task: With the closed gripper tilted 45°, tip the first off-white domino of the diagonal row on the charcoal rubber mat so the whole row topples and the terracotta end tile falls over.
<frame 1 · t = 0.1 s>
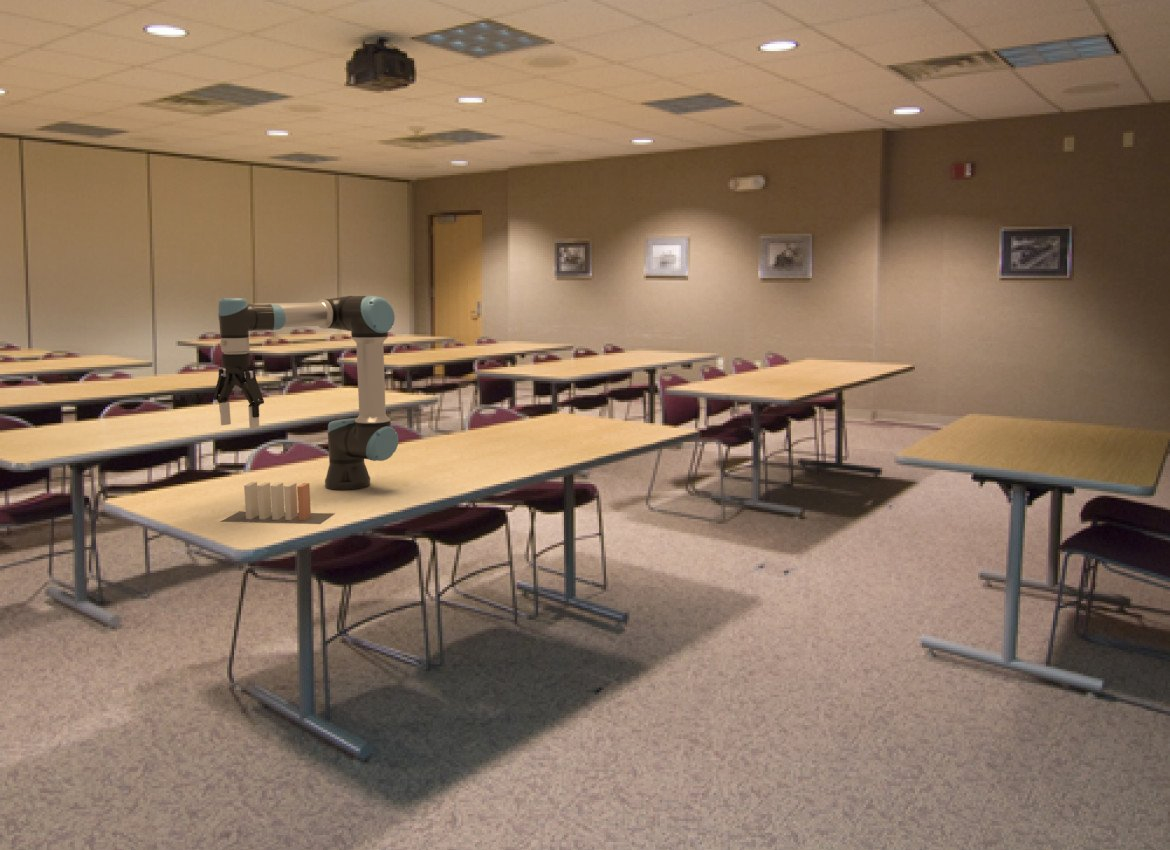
hand: (240, 426, 259), 28 cm above the table, tool pointing down, fingers open, 13 cm apart
domino 5: (305, 518, 265), resting on mat
domino 4: (291, 517, 266), resting on mat
domino 1: (252, 516, 267), resting on mat
domino 3: (278, 517, 266), resting on mat
domino 2: (265, 517, 266), resting on mat
mat: (278, 518, 266), on the table
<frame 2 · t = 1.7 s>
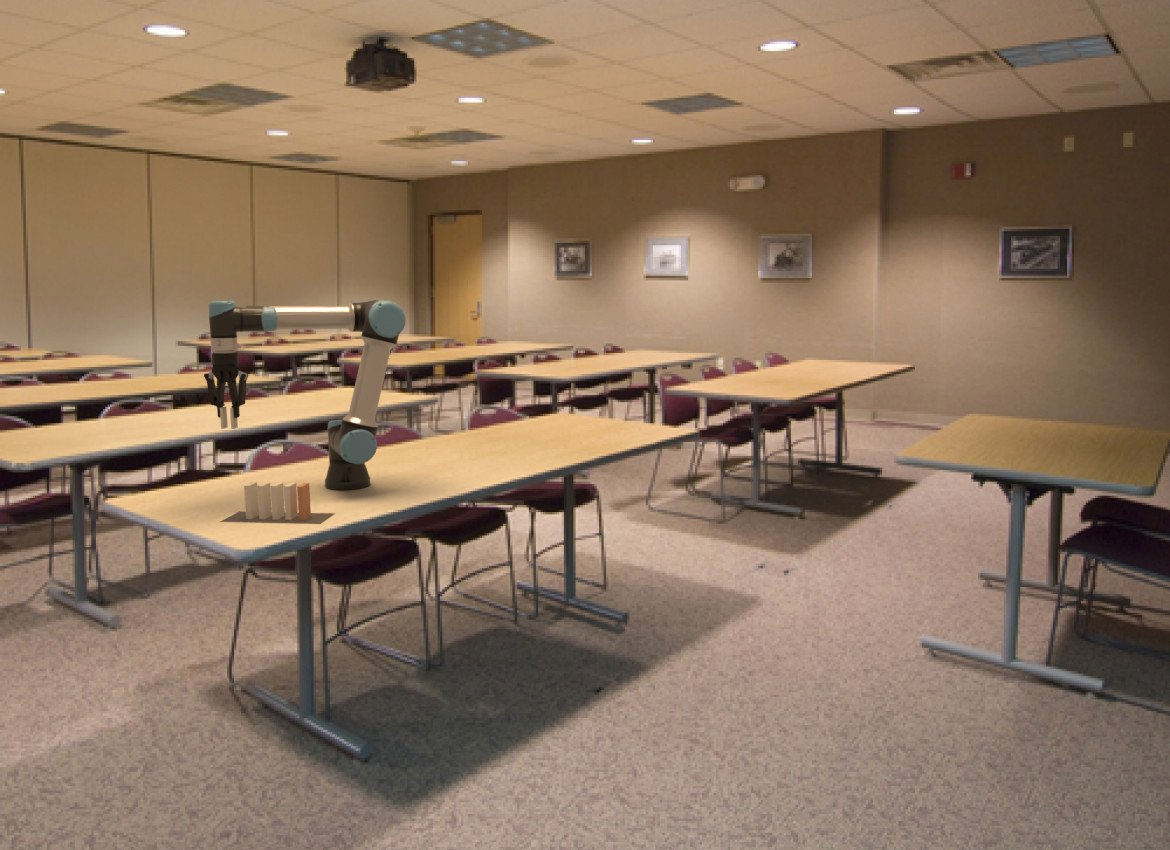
hand: (229, 428, 278), 25 cm above the table, tool pointing down, fingers open, 3 cm apart
nothing on the table moved.
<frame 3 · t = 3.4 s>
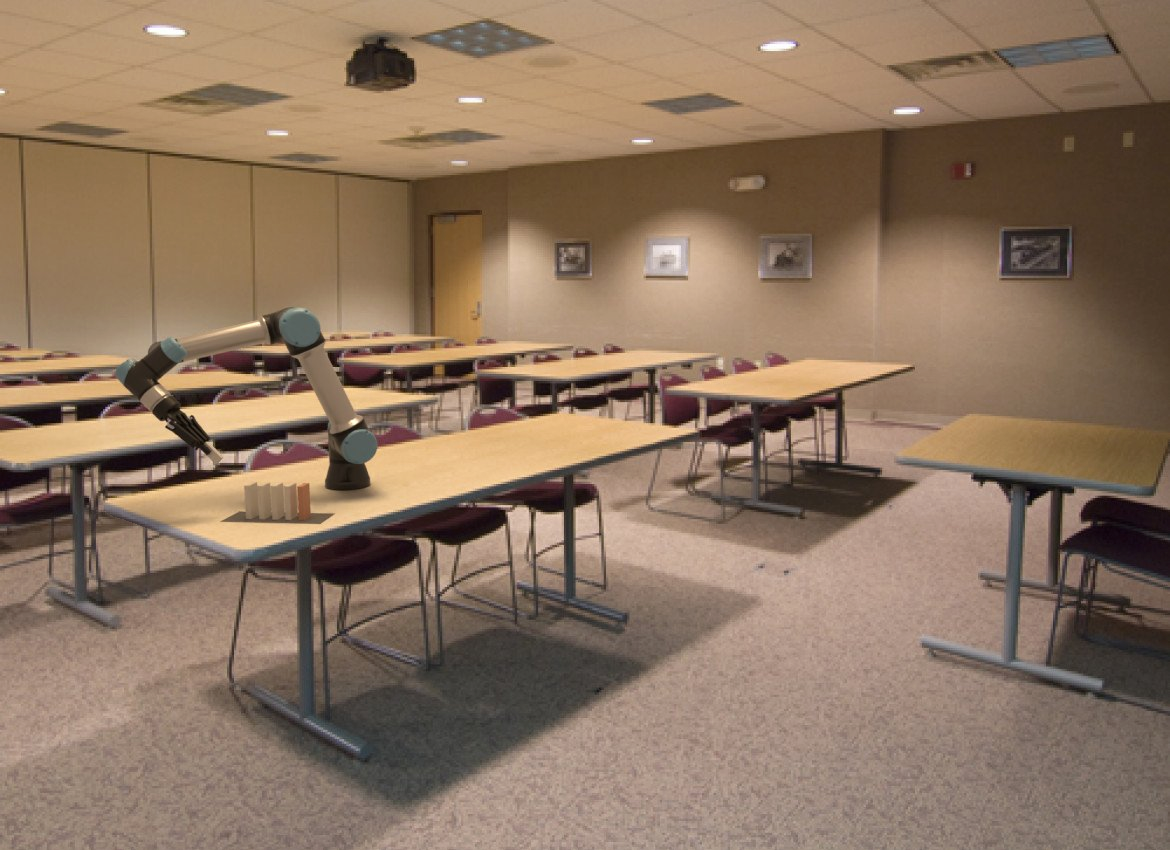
hand: (219, 460, 265), 17 cm above the table, tool tilted 45°, fingers closed
nothing on the table moved.
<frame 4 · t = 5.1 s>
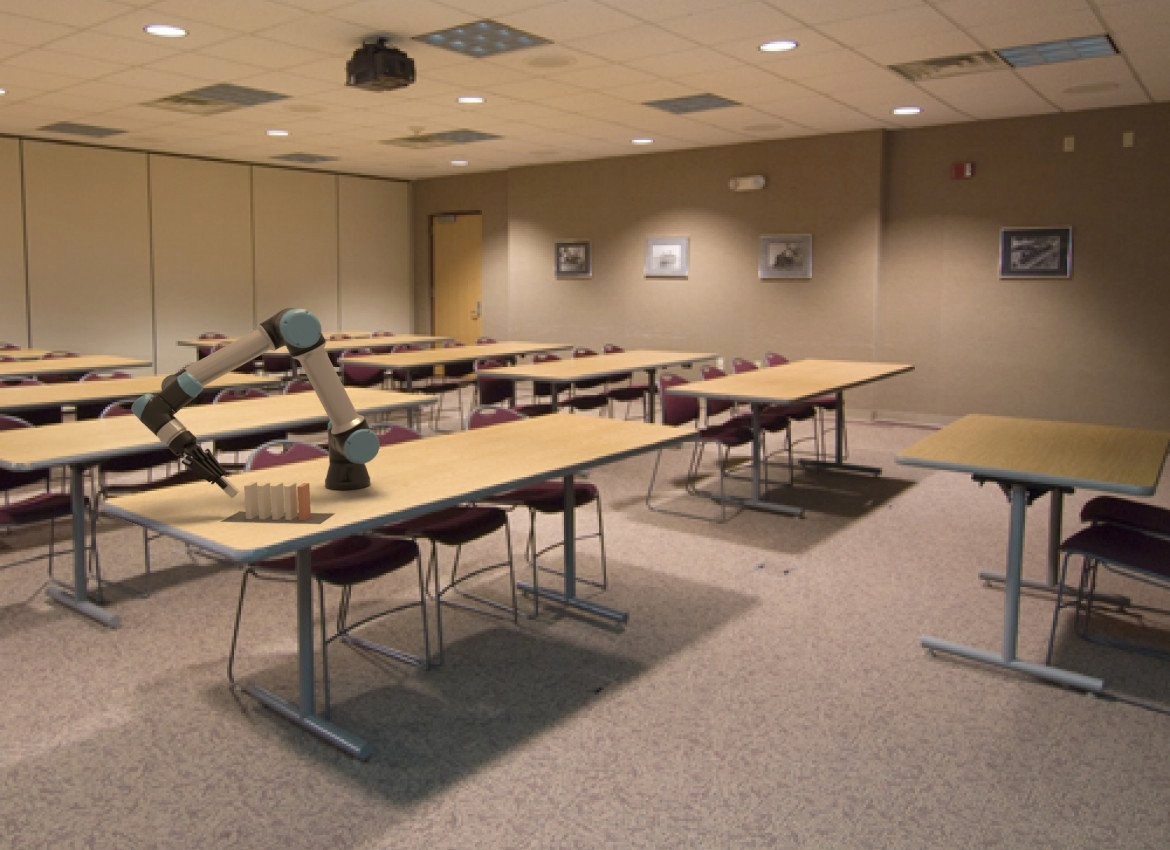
hand: (235, 494, 266), 7 cm above the table, tool tilted 45°, fingers closed
nothing on the table moved.
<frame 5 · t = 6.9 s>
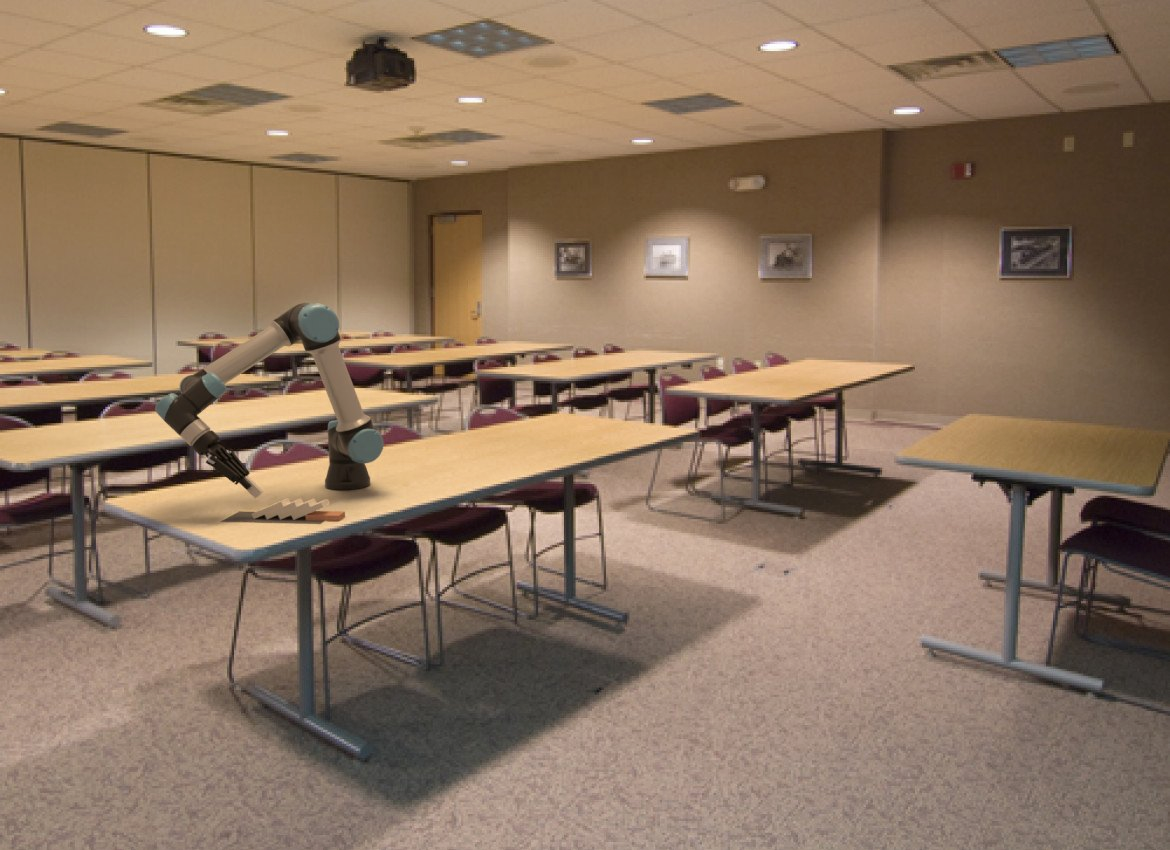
hand: (259, 494, 266), 7 cm above the table, tool tilted 45°, fingers closed
domino 5: (309, 515, 265), point 1 cm above the table, tilted 90°, touching domino 4, mat
domino 4: (295, 515, 265), point 1 cm above the table, tilted 67°, touching domino 3, domino 5, mat
domino 1: (256, 514, 267), point 1 cm above the table, tilted 66°, touching domino 2
domino 3: (282, 515, 266), point 1 cm above the table, tilted 66°, touching domino 2, domino 4
domino 2: (269, 514, 266), point 1 cm above the table, tilted 66°, touching domino 1, domino 3, mat
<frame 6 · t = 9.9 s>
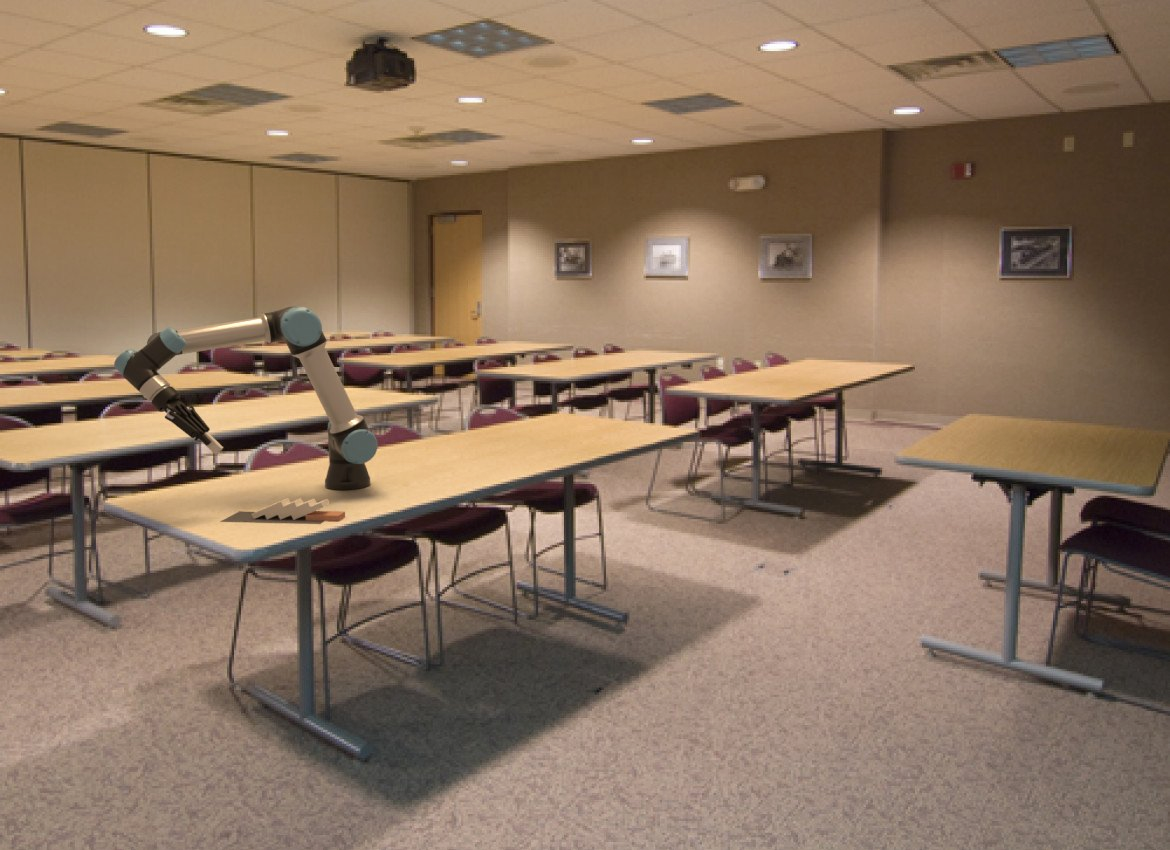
hand: (219, 451, 265), 20 cm above the table, tool tilted 45°, fingers closed
nothing on the table moved.
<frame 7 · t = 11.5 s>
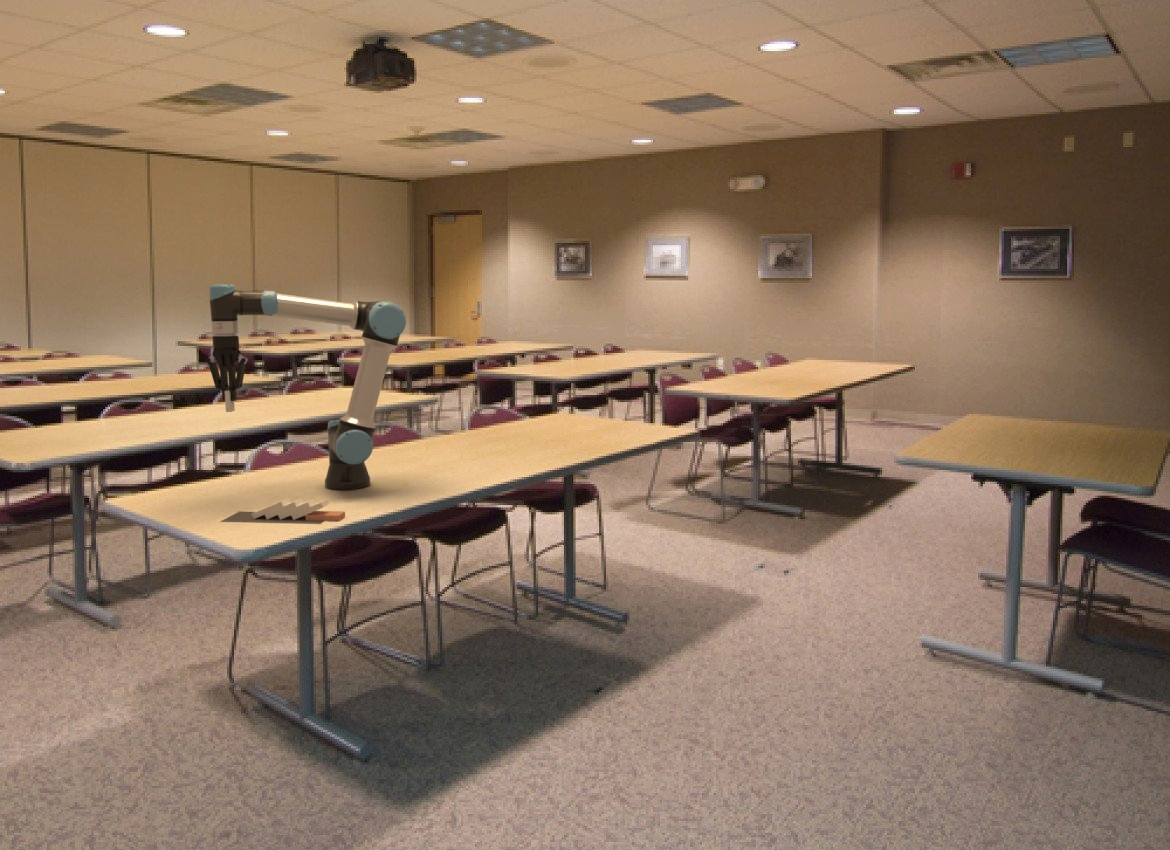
hand: (230, 411, 280), 29 cm above the table, tool pointing down, fingers closed
nothing on the table moved.
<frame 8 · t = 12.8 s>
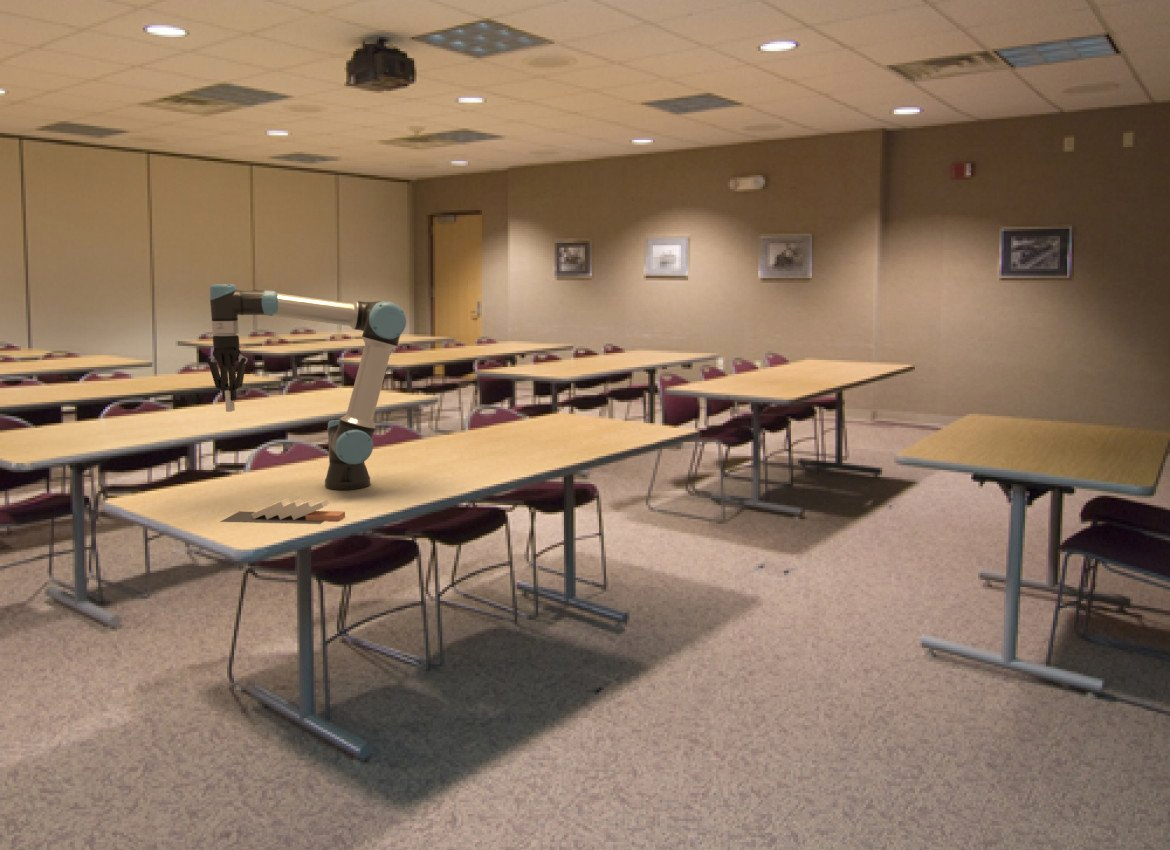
hand: (230, 411, 280), 29 cm above the table, tool pointing down, fingers closed
nothing on the table moved.
at the end: domino 5 tilted 90°; domino 3 tilted 66°; domino 1 tilted 66° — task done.
